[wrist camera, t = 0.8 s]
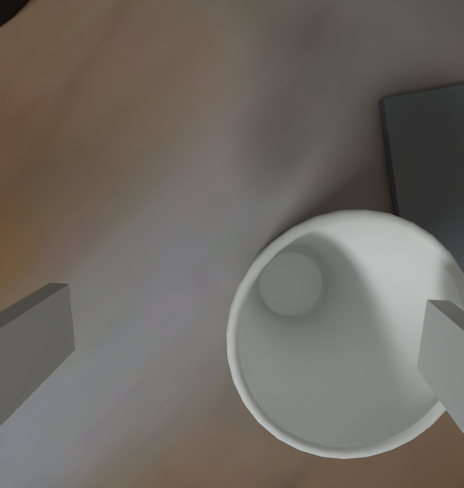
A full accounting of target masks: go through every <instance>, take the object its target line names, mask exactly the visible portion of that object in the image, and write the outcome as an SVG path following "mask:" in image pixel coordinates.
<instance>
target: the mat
mask: <svg viewBox="0 0 464 488" xmlns="http://www.w3.org/2000/svg"><path fill="white" fill-rule="evenodd" d="M379 102H380V110H381V117H382V125H383V132H384V139H385V147H386V154H387V161H388V169H389V176H390V184H391V191H392V198H393V206H394V213H395V216H398V217H400V218H403V219H406V220H408V221H411V222H413V223H415V224H416V225H418V226H419V227H421V228H422V229H424V230H425V231H427V232H428V233H430V234H431V235H433V236H434V237H435V238H436V239H437V240H438V241H439V242H440V243H441V244H442V245H443V246H444V247H445V248H446V249H447V250H448V251H449V252H450V253H451V255H452V256H453V258H454V259H455V261H456V263H457V264H458V266H459V267H460V269H461V270H462V272H463V274H464V84H463V85H457V86H451V87H445V88H439V89H433V90H427V91H422V92H416V93H410V94H404V95H398V96H392V97H386V98H383V99H381V100H380V101H379Z"/></svg>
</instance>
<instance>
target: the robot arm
mask: <svg viewBox="0 0 464 488" xmlns="http://www.w3.org/2000/svg"><path fill="white" fill-rule="evenodd" d="M25 1H26V0H0V24H2V23H3V22H4V21H6V20H7V19H8V18H10V17H11V16H12V15H13V14H14V13H15V12H16V11H17V10H18V9H19V8H20V7H21V6H22V4H23V3H24V2H25ZM74 350H75V342H74V332H73V321H72V311H71V300H70V290H69V284H60V283H49V284H47V285H45V286H44V287H42V288H40V289H39V290H37V291H35V292H34V293H32V294H30V295H28V296H27V297H25V298H23V299H22V300H20V301H18V302H16V303H15V304H13V305H11V306H10V307H8V308H6V309H4V310H3V311H1V312H0V426H1V425H2V424H3V423H4V422H5V421H6V420H7V419H8V417H9V416H10V415H11V414H12V413H13V412H14V411H15V410H16V409H17V408H18V407H19V406H20V405H21V404H22V403H23V402H24V401H25V400H26V399H27V398H28V397H29V396H30V395H31V394H32V393H33V392H34V391H35V390H36V389H37V388H38V387H39V386H40V385H41V384H42V383H43V382H44V381H45V380H46V379H47V378H48V377H49V376H50V375H51V374H52V373H53V372H54V371H55V370H56V369H57V368H58V366H59V365H60V364H61V363H62V362H63V361H64V360H65V359H66V358H67V357H68V356H69V355H70V354H71V353H72V352H73V351H74ZM417 370H418V372H419V373H420V375H421V376H422V377H423V379H424V380H425V381H426V383H427V384H428V385H429V387H430V388H431V390H432V391H433V392H434V394H435V395H436V396H437V398H438V399H439V401H440V402H441V403H442V405H443V406H444V407H445V409H446V410H447V411H448V413H449V414H450V416H451V417H452V418H453V420H454V421H455V422H456V424H457V425H458V426H459V428H460V429H461V431H462V432H463V433H464V311H463V310H462V309H460V308H459V307H458V306H456V305H455V304H454V303H452V302H451V301H450V300H429V299H427V303H426V310H425V316H424V323H423V330H422V336H421V343H420V350H419V356H418V363H417Z"/></svg>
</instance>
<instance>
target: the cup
mask: <svg viewBox="0 0 464 488" xmlns="http://www.w3.org/2000/svg"><path fill="white" fill-rule="evenodd" d="M427 299H429V300H450V301H451V302H452V303H454V304H455V305H456V306H458V307H459V308H460V309H462V310H463V311H464V274H463V272H462V270H461V269H460V267H459V266H458V264H457V263H456V261H455V259H454V258H453V256H452V255H451V253H450V252H449V251H448V250H447V249H446V248H445V247H444V246H443V245H442V244H441V243H440V242H439V241H438V240H437V239H436V238H435V237H434V236H433V235H431V234H430V233H428V232H427V231H425V230H424V229H422V228H421V227H419V226H418V225H416V224H415V223H413V222H411V221H408V220H406V219H403V218H400V217H398V216H395V215H393V214H390V213H385V212H378V211H372V210H366V209H358V210H339V211H335V212H331V213H326V214H322V215H318V216H314V217H312V218H310V219H308V220H306V221H304V222H302V223H300V224H297V225H295V226H293V227H291V228H290V229H288V230H287V231H286V232H284V233H283V234H282V235H280V236H279V237H278V238H276V239H275V240H274V241H272V242H271V243H270V244H269V245H268V246H266V247H265V248H264V249H262V250H261V251H260V252H259V253H258V254H257V255H256V257H255V258H254V260H253V261H252V263H251V264H250V267H249V269H248V271H247V272H246V274H245V275H244V277H243V279H242V280H241V282H240V284H239V286H238V289H237V291H236V294H235V297H234V300H233V302H232V305H231V308H230V313H229V320H228V326H227V332H226V335H227V358H228V362H229V366H230V370H231V374H232V378H233V382H234V384H235V386H236V388H237V390H238V392H239V394H240V396H241V398H242V400H243V402H244V404H245V405H246V407H247V408H248V409H249V410H250V412H251V413H252V414H253V416H254V417H255V418H256V419H257V421H258V422H259V423H260V424H261V425H262V426H264V427H265V428H266V429H267V430H268V431H269V432H271V433H272V434H273V435H274V436H275V437H277V438H278V439H280V440H282V441H284V442H285V443H287V444H289V445H291V446H293V447H295V448H296V449H298V450H301V451H305V452H308V453H311V454H315V455H318V456H322V457H331V458H341V459H347V458H358V457H368V456H372V455H375V454H379V453H382V452H386V451H390V450H392V449H394V448H396V447H398V446H400V445H402V444H404V443H406V442H408V441H410V440H412V439H414V438H415V437H416V436H418V435H419V434H420V433H422V432H423V431H425V430H426V429H427V428H429V427H430V426H431V425H432V424H433V423H434V422H435V421H436V420H437V419H438V418H439V417H440V416H441V415H442V414H443V413H444V412H445V410H446V409H445V407H444V406H443V405H442V403H441V402H440V401H439V399H438V398H437V396H436V395H435V394H434V392H433V391H432V390H431V388H430V387H429V385H428V384H427V383H426V381H425V380H424V379H423V377H422V376H421V375H420V373H419V372H418V370H417V363H418V356H419V350H420V343H421V336H422V330H423V323H424V316H425V310H426V303H427Z"/></svg>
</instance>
